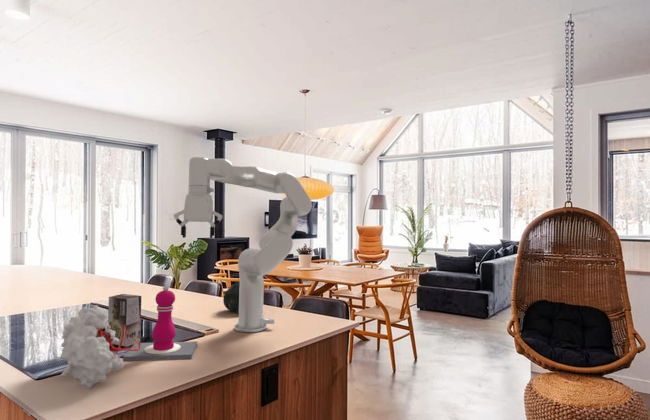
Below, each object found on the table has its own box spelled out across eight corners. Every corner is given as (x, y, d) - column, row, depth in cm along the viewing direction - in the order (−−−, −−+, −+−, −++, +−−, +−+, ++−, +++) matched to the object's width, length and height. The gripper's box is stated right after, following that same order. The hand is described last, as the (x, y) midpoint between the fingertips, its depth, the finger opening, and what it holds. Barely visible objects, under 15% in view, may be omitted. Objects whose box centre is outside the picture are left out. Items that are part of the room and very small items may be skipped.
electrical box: (141, 342, 147) (142, 295, 147) (125, 347, 141) (126, 298, 142) (122, 338, 151) (124, 293, 151) (106, 343, 145) (108, 296, 145)
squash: (250, 295, 210) (233, 274, 204) (266, 301, 199) (248, 279, 192) (230, 316, 203) (211, 295, 197) (245, 324, 192) (226, 302, 185)
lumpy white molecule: (134, 393, 122) (97, 332, 134) (162, 347, 118) (120, 287, 129) (63, 418, 105) (26, 345, 117) (91, 364, 101) (51, 294, 112)
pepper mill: (179, 345, 140) (181, 284, 141) (168, 351, 133) (171, 288, 133) (158, 343, 141) (160, 283, 141) (147, 350, 134) (149, 286, 134)
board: (197, 344, 145) (197, 340, 145) (191, 358, 132) (191, 353, 132) (135, 346, 142) (135, 342, 142) (123, 360, 128) (123, 356, 128)
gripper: (223, 192, 161) (222, 237, 161) (176, 190, 158) (175, 236, 158) (222, 191, 154) (221, 238, 153) (172, 189, 151) (171, 237, 150)
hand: (197, 237), depth 156 cm, fingers open, 9 cm apart
